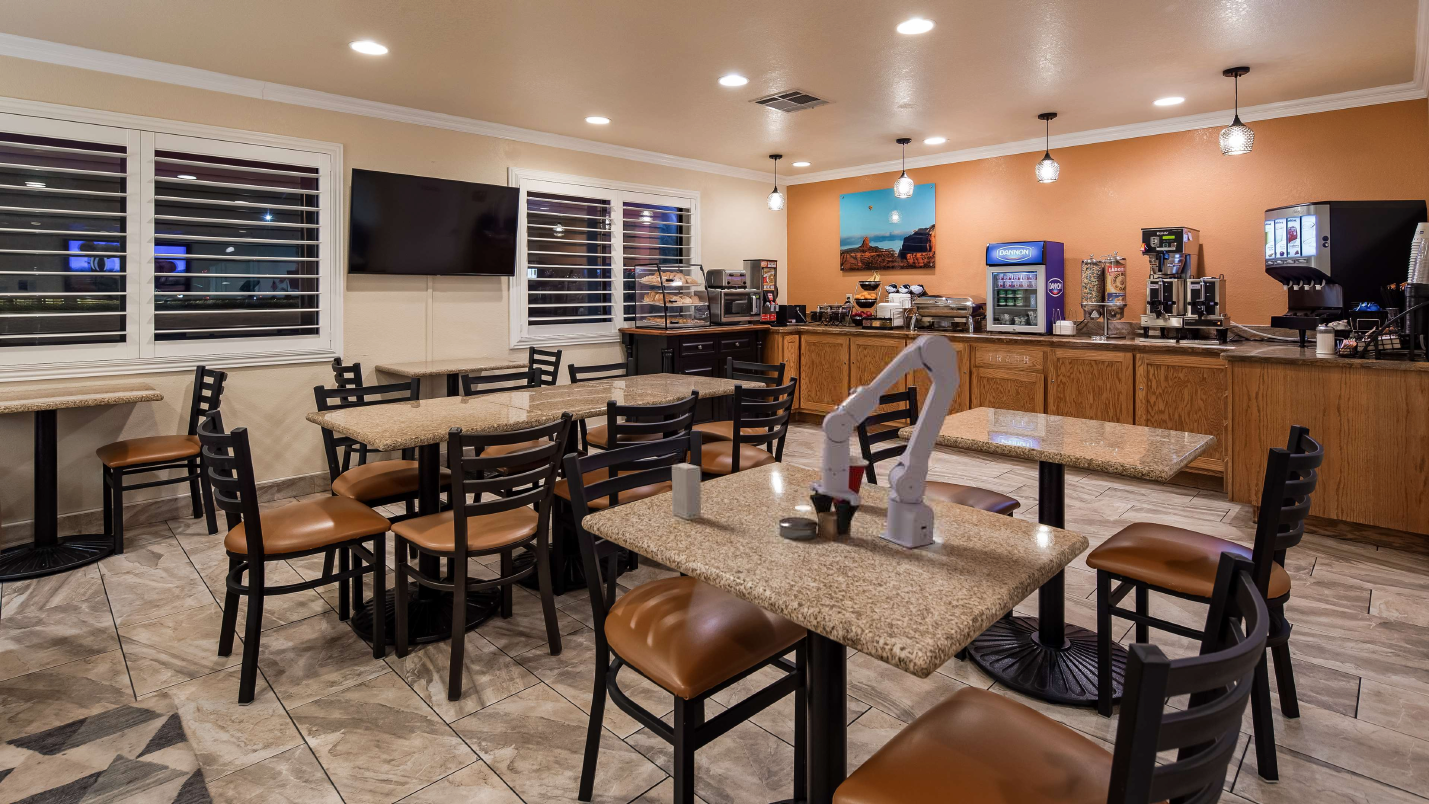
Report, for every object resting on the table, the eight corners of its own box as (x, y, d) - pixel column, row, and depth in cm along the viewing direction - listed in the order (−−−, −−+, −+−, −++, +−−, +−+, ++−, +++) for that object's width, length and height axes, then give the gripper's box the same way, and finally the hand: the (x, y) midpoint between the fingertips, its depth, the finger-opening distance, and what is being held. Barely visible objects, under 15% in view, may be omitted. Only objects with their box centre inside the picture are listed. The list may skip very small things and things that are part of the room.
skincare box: (701, 517, 174) (702, 466, 172) (686, 520, 171) (687, 468, 169) (685, 511, 179) (686, 462, 177) (670, 514, 176) (671, 464, 174)
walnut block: (850, 538, 160) (851, 516, 160) (832, 542, 158) (833, 519, 157) (835, 532, 164) (836, 510, 164) (817, 535, 162) (818, 513, 161)
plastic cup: (870, 510, 183) (873, 462, 181) (826, 509, 183) (828, 461, 181) (863, 499, 194) (865, 454, 192) (821, 498, 194) (823, 453, 192)
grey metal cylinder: (825, 538, 160) (825, 524, 160) (794, 544, 156) (794, 530, 156) (801, 528, 168) (801, 515, 167) (770, 533, 163) (771, 520, 163)
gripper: (799, 463, 163) (797, 524, 165) (843, 477, 151) (841, 542, 153) (824, 461, 167) (822, 520, 169) (869, 473, 155) (866, 537, 156)
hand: (833, 530), depth 161 cm, fingers open, 6 cm apart
